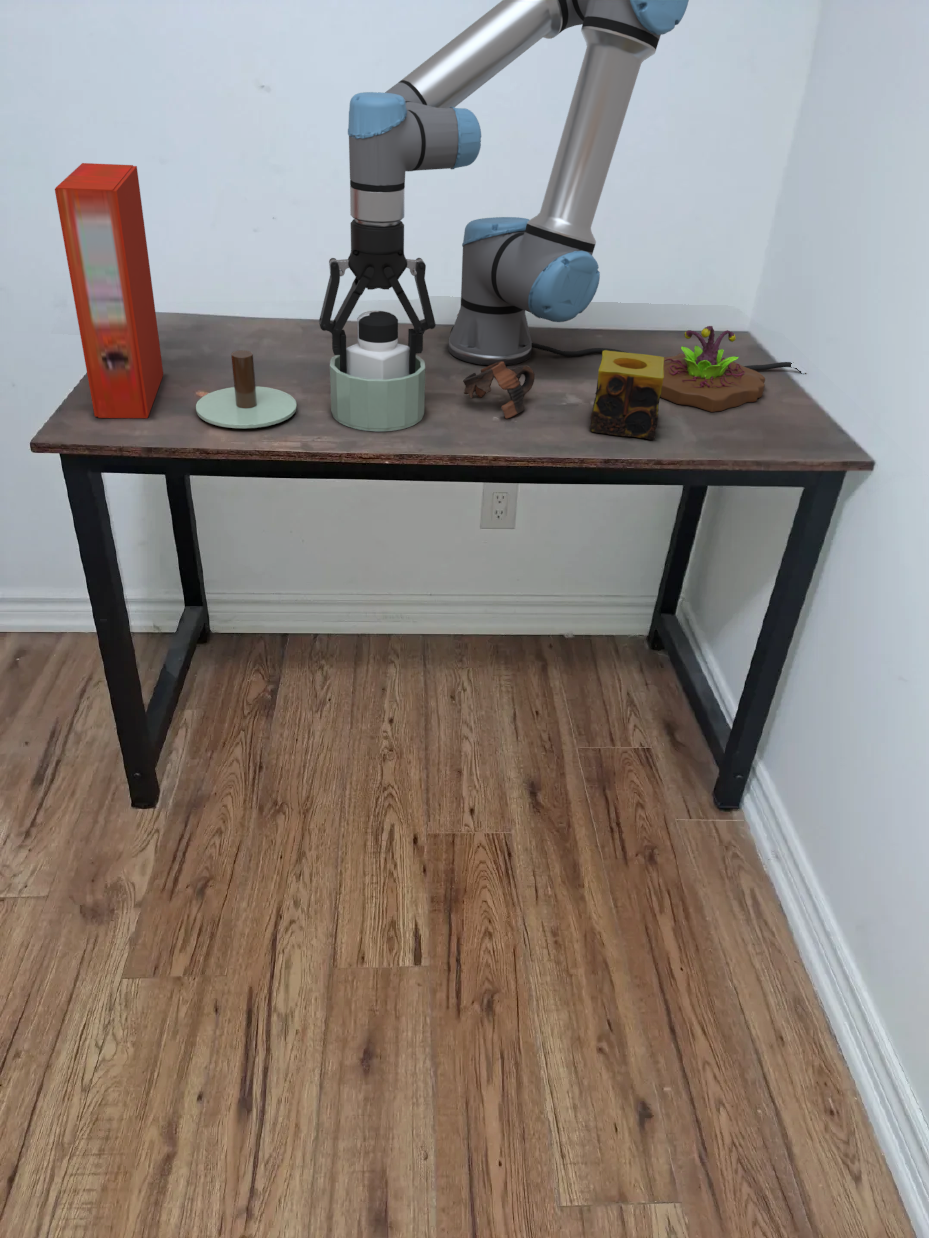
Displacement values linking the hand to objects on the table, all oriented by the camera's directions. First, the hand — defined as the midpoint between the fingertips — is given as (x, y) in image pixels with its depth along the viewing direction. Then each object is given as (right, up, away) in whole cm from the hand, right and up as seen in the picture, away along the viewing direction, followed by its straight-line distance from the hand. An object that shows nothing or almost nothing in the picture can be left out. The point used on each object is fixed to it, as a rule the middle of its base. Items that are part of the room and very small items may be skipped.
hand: (377, 374), depth 144 cm
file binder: (-39, -3, +4) cm, 39 cm away
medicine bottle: (0, -3, +2) cm, 3 cm away
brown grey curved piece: (+19, -3, +8) cm, 21 cm away
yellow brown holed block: (+38, -7, +5) cm, 39 cm away
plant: (+54, +3, +19) cm, 58 cm away
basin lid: (-20, -5, +1) cm, 21 cm away
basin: (0, -5, +4) cm, 6 cm away
